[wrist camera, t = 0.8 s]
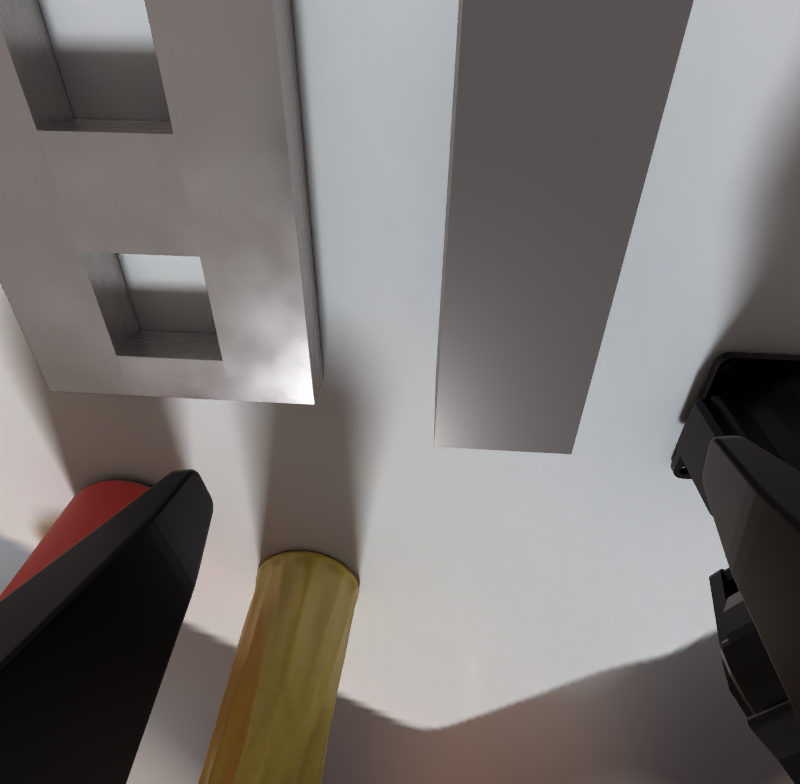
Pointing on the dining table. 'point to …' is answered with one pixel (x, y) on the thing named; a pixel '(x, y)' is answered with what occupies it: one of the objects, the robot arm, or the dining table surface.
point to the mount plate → (163, 209)
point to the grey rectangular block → (542, 206)
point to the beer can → (78, 524)
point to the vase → (284, 674)
